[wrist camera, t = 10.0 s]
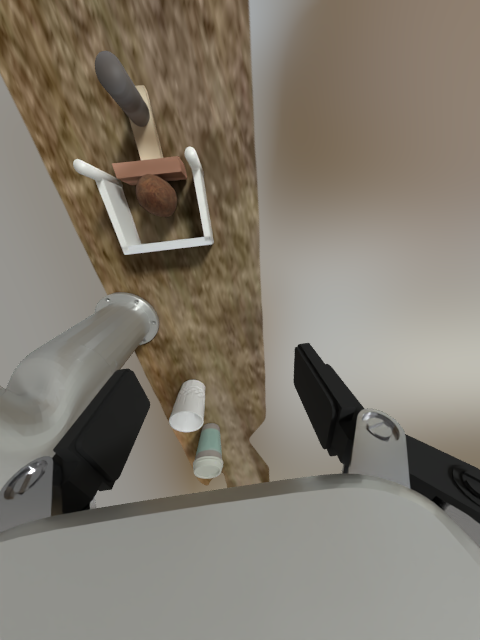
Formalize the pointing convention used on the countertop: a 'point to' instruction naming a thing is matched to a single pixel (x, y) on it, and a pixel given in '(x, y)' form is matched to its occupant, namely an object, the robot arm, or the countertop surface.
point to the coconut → (156, 195)
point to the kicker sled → (136, 124)
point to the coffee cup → (208, 453)
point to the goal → (122, 215)
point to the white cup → (189, 407)
